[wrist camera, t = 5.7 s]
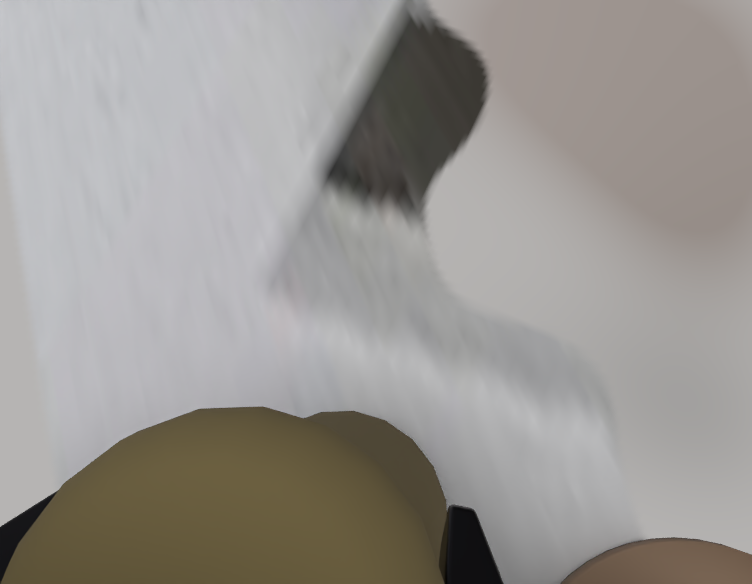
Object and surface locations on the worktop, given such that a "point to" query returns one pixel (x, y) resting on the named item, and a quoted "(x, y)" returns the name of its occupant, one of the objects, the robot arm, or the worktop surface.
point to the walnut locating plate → (666, 564)
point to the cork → (244, 506)
